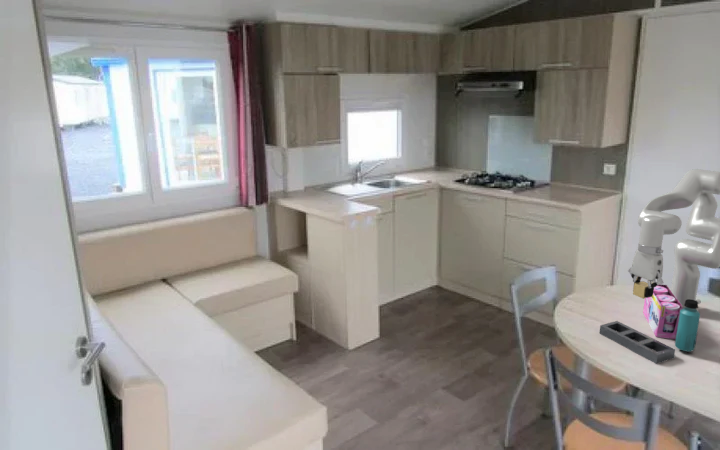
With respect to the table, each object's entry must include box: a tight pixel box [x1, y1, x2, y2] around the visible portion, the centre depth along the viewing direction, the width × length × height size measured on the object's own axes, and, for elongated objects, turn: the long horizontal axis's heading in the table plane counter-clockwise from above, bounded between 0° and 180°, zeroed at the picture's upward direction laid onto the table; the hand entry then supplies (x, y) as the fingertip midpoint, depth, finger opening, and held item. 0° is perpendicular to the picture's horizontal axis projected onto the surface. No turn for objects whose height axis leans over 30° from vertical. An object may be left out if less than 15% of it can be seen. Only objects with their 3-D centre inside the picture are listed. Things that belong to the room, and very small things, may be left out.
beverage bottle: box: [674, 299, 701, 352], centre depth 190 cm, size 6×7×20 cm
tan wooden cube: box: [632, 280, 648, 300], centre depth 199 cm, size 5×5×5 cm
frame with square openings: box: [599, 320, 676, 365], centre depth 197 cm, size 9×25×4 cm, turn 24°
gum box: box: [642, 284, 683, 340], centre depth 210 cm, size 24×8×14 cm, turn 165°
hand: (642, 293), depth 200 cm, fingers closed on tan wooden cube, 4 cm apart
